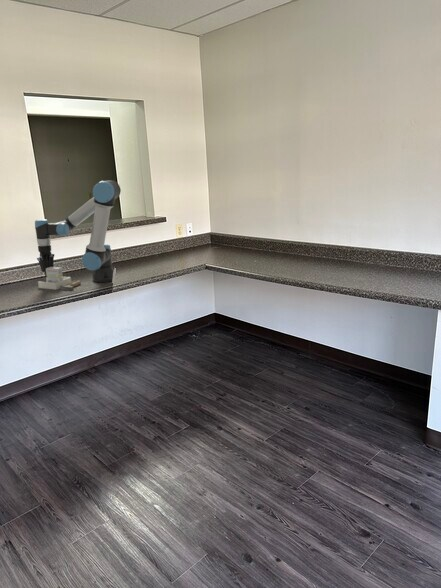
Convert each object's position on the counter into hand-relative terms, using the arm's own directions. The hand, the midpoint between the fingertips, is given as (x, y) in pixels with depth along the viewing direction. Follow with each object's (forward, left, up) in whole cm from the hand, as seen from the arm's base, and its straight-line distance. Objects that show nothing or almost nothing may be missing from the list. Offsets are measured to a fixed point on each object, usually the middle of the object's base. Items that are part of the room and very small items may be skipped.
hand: (49, 281), depth 280 cm
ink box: (-6, +1, -2) cm, 6 cm away
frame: (-4, 0, -2) cm, 5 cm away
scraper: (-17, 0, -2) cm, 18 cm away
